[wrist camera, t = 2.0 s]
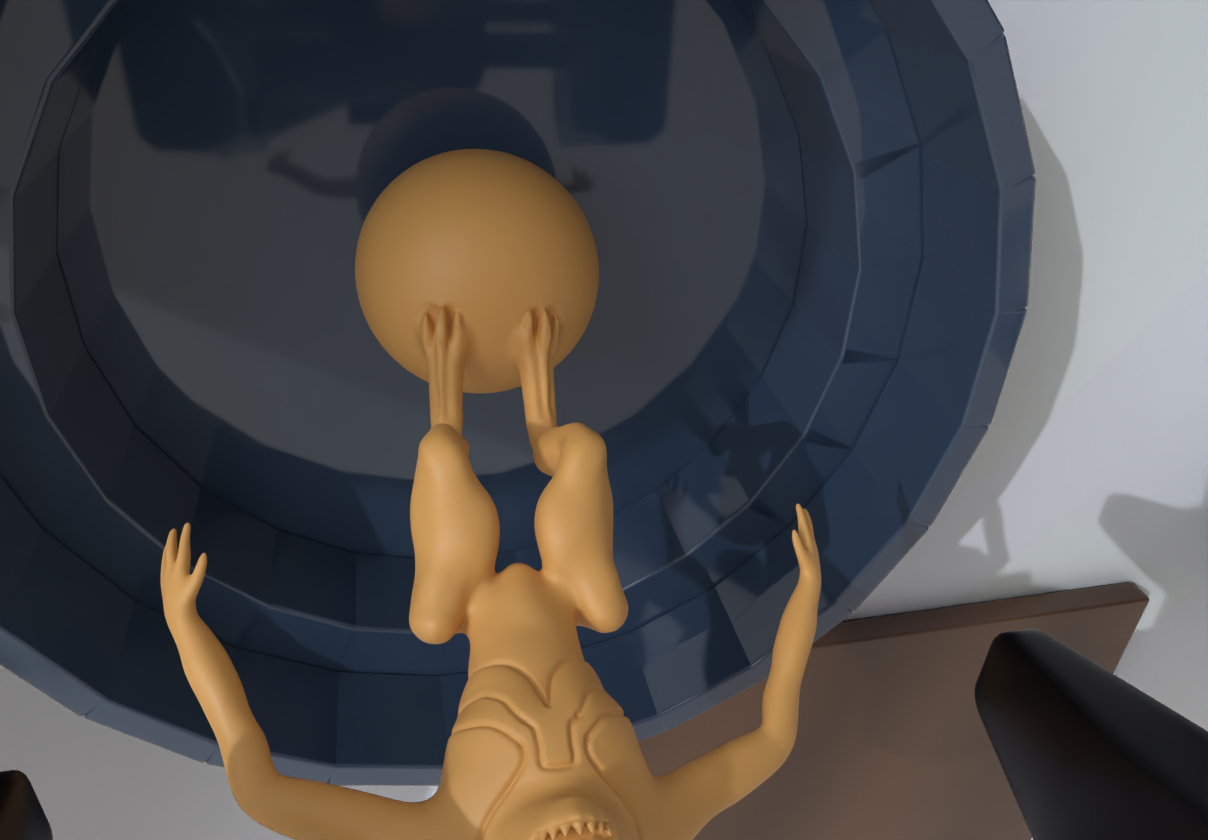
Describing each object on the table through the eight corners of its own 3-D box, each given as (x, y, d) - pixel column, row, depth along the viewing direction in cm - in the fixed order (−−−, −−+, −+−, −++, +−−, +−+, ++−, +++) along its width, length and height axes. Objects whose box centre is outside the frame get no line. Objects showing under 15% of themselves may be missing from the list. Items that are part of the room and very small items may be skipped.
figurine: (701, 137, 17) (1169, 583, 7) (649, 414, 20) (924, 987, 10) (214, 99, 15) (-63, 661, 5) (242, 415, 18) (102, 1138, 8)
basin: (981, -250, 15) (1218, -273, 11) (807, 561, 24) (899, 713, 20) (-274, -343, 11) (-632, -429, 7) (91, 649, 21) (24, 856, 17)
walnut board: (1132, 580, 28) (1151, 599, 27) (1010, 837, 35) (1023, 857, 34) (461, 673, 24) (463, 697, 23) (477, 943, 31) (479, 968, 30)
